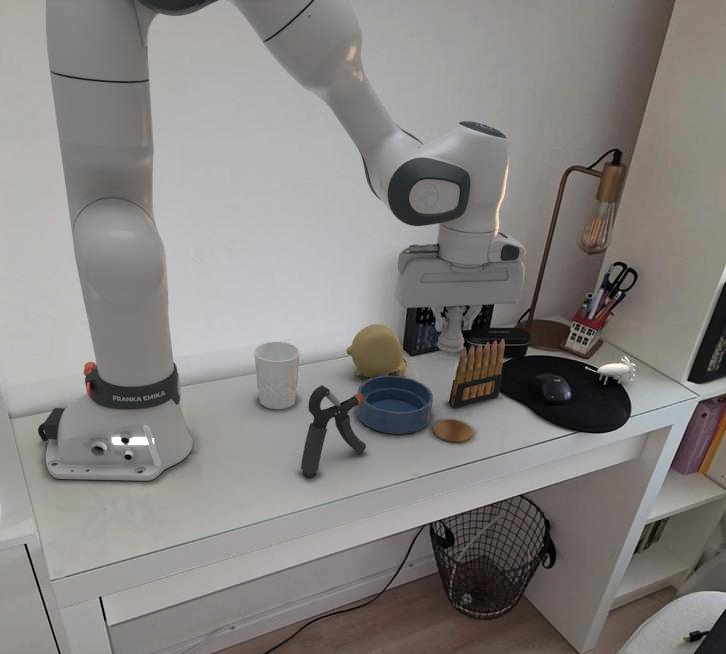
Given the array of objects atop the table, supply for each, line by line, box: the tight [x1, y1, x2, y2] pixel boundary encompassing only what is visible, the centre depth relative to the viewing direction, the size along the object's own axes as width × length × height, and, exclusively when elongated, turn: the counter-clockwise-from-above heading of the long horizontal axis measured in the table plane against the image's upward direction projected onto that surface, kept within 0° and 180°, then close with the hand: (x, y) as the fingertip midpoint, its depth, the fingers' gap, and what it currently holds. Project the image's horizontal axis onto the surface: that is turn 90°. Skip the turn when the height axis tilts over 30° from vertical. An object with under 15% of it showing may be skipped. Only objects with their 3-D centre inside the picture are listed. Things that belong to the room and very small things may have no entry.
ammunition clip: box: [448, 338, 506, 409], centre depth 128 cm, size 11×2×12 cm, turn 120°
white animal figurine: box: [584, 355, 638, 386], centre depth 139 cm, size 12×5×5 cm, turn 106°
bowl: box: [356, 376, 434, 435], centre depth 124 cm, size 13×13×4 cm
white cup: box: [253, 341, 300, 410], centre depth 123 cm, size 8×8×10 cm
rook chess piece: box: [436, 305, 467, 354], centre depth 111 cm, size 4×4×8 cm
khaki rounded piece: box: [346, 323, 408, 379], centre depth 134 cm, size 10×12×11 cm
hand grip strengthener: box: [300, 384, 367, 479], centre depth 107 cm, size 2×12×15 cm, turn 131°
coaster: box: [432, 419, 473, 444], centre depth 122 cm, size 7×7×1 cm
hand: (452, 329), depth 111 cm, fingers closed on rook chess piece, 3 cm apart
